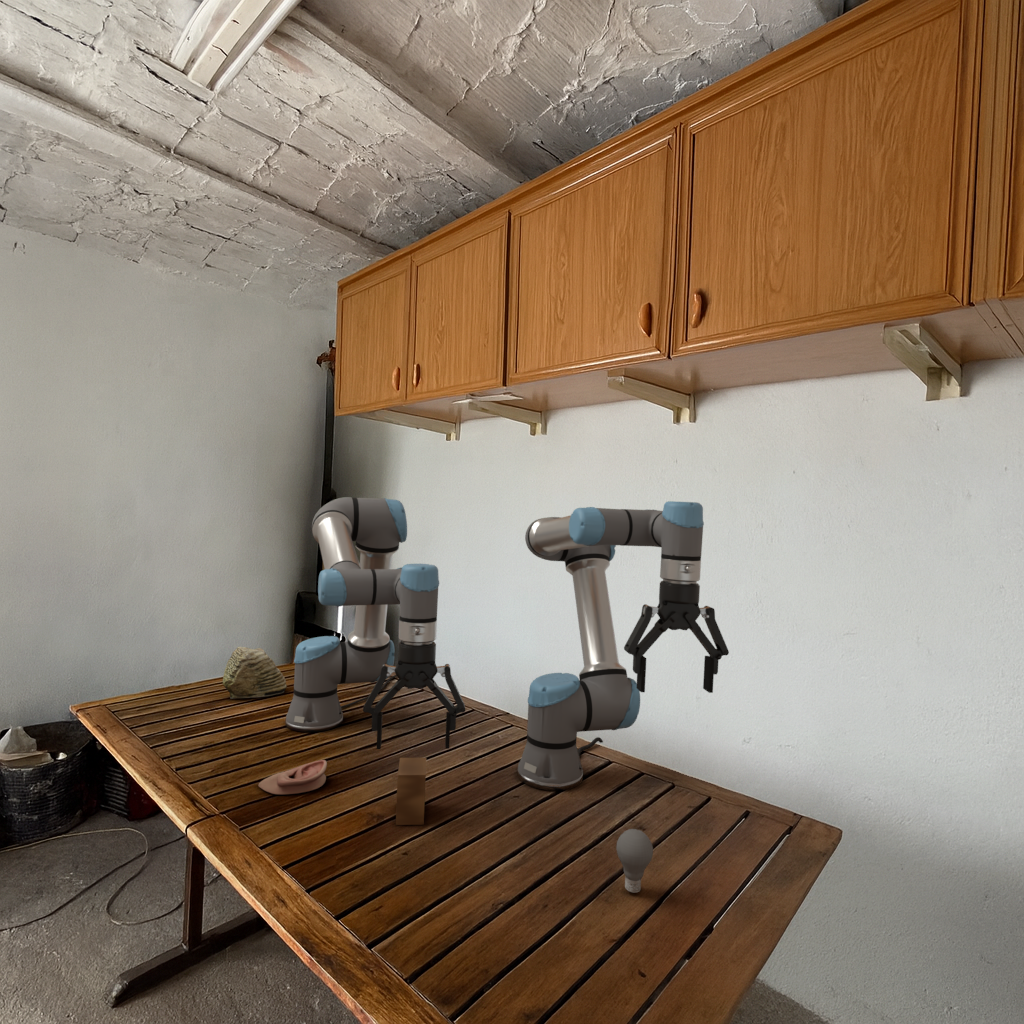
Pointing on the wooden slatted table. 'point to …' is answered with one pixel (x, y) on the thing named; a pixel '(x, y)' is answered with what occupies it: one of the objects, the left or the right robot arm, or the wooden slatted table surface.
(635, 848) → the light bulb
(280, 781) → the anatomical model
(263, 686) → the fossil
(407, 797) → the brick
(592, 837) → the wooden slatted table surface
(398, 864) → the wooden slatted table surface
